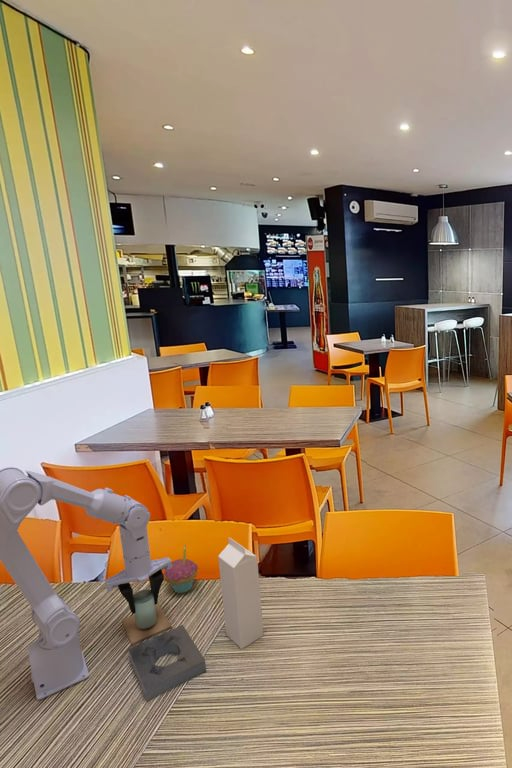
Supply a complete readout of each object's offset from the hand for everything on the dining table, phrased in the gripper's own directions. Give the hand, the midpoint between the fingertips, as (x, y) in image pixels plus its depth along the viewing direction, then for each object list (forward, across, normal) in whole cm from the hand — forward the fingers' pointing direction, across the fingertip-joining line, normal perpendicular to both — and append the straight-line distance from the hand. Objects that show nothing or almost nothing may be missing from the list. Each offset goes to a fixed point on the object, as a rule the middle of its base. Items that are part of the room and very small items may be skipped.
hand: (143, 606), depth 102 cm
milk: (+5, +17, -16) cm, 24 cm away
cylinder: (+3, 0, -1) cm, 4 cm away
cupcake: (+5, +12, +8) cm, 15 cm away
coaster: (+5, 0, 0) cm, 5 cm away
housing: (+5, 0, -14) cm, 15 cm away
